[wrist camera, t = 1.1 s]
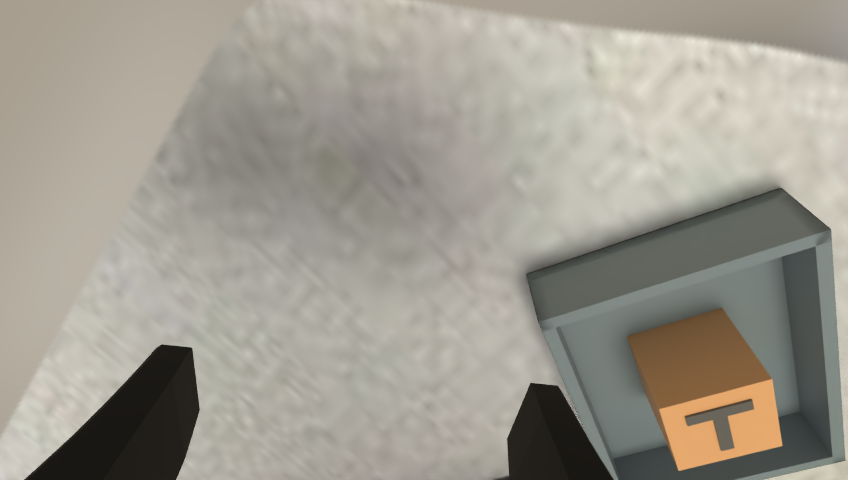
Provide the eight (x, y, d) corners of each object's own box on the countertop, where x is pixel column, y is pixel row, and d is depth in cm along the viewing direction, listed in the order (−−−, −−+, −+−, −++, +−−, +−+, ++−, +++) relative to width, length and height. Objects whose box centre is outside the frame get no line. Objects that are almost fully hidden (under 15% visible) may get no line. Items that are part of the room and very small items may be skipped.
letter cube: (734, 370, 25) (783, 448, 22) (646, 395, 26) (679, 473, 22) (721, 307, 23) (773, 381, 20) (626, 336, 24) (660, 411, 21)
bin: (806, 407, 27) (845, 460, 24) (603, 458, 29) (620, 512, 27) (781, 187, 21) (831, 229, 18) (526, 274, 23) (538, 322, 20)
